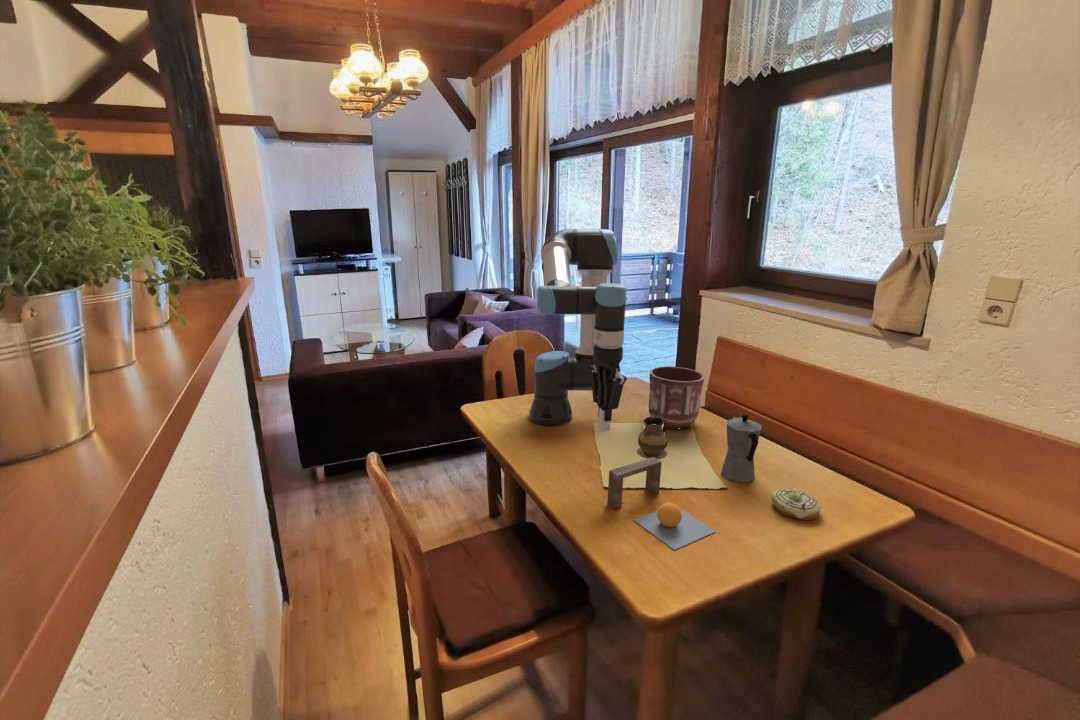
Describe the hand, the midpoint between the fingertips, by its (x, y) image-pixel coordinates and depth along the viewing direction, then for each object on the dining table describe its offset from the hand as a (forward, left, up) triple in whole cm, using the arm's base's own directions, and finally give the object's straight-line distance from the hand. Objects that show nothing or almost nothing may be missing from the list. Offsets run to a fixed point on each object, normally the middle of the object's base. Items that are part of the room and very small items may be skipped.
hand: (604, 430), depth 140 cm
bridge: (+13, 0, -14) cm, 19 cm away
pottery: (-18, +45, -14) cm, 50 cm away
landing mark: (+27, 0, -14) cm, 30 cm away
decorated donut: (+37, +31, -14) cm, 50 cm away
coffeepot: (+19, +33, -14) cm, 41 cm away
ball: (+26, -1, -11) cm, 28 cm away
